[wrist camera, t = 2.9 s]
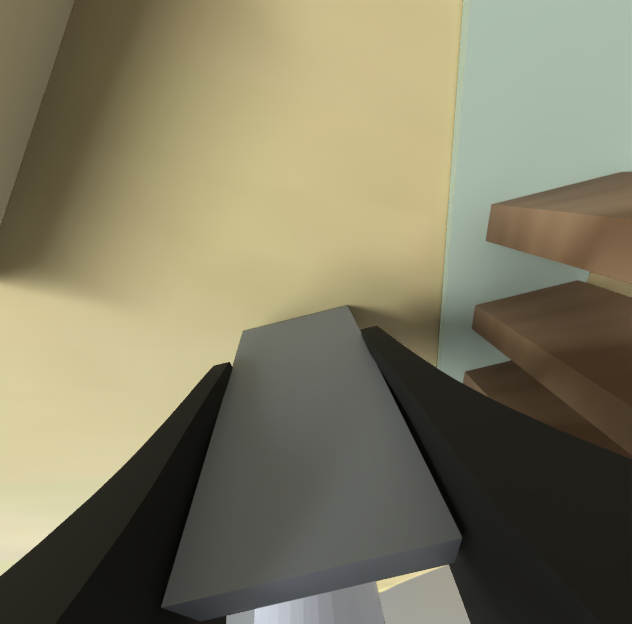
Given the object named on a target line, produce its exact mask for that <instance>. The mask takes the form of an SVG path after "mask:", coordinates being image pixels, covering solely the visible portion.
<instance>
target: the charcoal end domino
mask: <svg viewBox="0 0 632 624" xmlns="http://www.w3.org/2000/svg"><path fill="white" fill-rule="evenodd" d="M232 367H233V369H232V372H231V376H230V379H229V382H228V386H227V389H226V392H225V394H224V397H223V400H222V403H221V407H220V410H219V413H218V417H217V420H216V424H215V427H214V430H213V434H212V437H211V440H210V444H209V447H208V450H207V454H206V457H205V461H204V464H203V467H202V471H201V474H200V477H199V481H198V484H197V488H196V491H195V494H194V498H193V501H192V504H191V508H190V511H189V514H188V518H187V521H186V525H185V528H184V531H183V535H182V538H181V541H180V545H179V548H178V552H177V555H176V558H175V562H174V565H173V568H172V572H171V575H170V578H169V582H168V585H167V589H166V592H165V595H164V599H163V602H162V605H161V608H163V609H166V610H169V611H172V612H175V613H178V614H181V615H184V616H186V617H189V618H192V619H195V620H198V621H205V620H210V619H214V618H218V617H223V616H227V615H231V614H236V613H240V612H244V611H249V610H253V609H257V608H262V607H266V606H270V605H275V604H279V603H283V602H288V601H292V600H296V599H301V598H305V597H309V596H314V595H318V594H322V593H327V592H331V591H335V590H340V589H344V588H348V587H353V586H357V585H361V584H366V583H370V582H374V581H379V580H383V579H387V578H392V577H396V576H400V575H405V574H409V573H413V572H418V571H422V570H426V569H430V568H435V567H439V566H443V565H448V564H452V563H455V560H456V557H457V553H458V550H459V547H460V544H461V541H462V536H461V534H460V532H459V530H458V528H457V526H456V524H455V522H454V520H453V518H452V515H451V513H450V511H449V509H448V507H447V505H446V503H445V501H444V499H443V497H442V495H441V493H440V491H439V489H438V487H437V485H436V483H435V481H434V479H433V477H432V475H431V473H430V471H429V469H428V467H427V465H426V463H425V461H424V459H423V457H422V455H421V453H420V451H419V449H418V447H417V445H416V443H415V441H414V439H413V437H412V435H411V433H410V431H409V428H408V426H407V424H406V422H405V420H404V418H403V416H402V414H401V412H400V410H399V408H398V406H397V404H396V402H395V400H394V398H393V396H392V394H391V392H390V390H389V388H388V386H387V384H386V382H385V380H384V378H383V376H382V374H381V372H380V370H379V368H378V366H377V364H376V362H375V361H374V359H373V357H372V356H371V354H370V352H369V350H368V348H367V346H366V344H365V342H364V340H363V338H362V335H361V331H360V329H359V327H358V325H357V323H356V321H355V319H354V317H353V315H352V313H351V311H350V309H349V307H348V305H346V306H342V307H338V308H334V309H330V310H326V311H322V312H318V313H314V314H310V315H306V316H302V317H298V318H294V319H290V320H286V321H281V322H277V323H273V324H269V325H265V326H261V327H257V328H253V329H249V330H245V331H243V333H242V336H241V339H240V343H239V346H238V349H237V353H236V356H235V360H234V363H233V366H232Z"/></svg>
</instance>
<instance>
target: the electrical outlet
mask: <svg viewBox="0 0 632 624" xmlns="http://www.w3.org/2000/svg"><path fill="white" fill-rule="evenodd" d="M74 2H75V0H0V226H1V223H2V220H3V217H4V214H5V211H6V208H7V205H8V202H9V199H10V196H11V192H12V189H13V186H14V183H15V180H16V177H17V174H18V171H19V168H20V165H21V162H22V159H23V156H24V153H25V150H26V147H27V144H28V141H29V138H30V135H31V132H32V129H33V126H34V123H35V120H36V117H37V114H38V111H39V108H40V105H41V102H42V99H43V96H44V93H45V90H46V87H47V84H48V81H49V78H50V75H51V71H52V68H53V65H54V62H55V59H56V56H57V53H58V50H59V47H60V44H61V41H62V38H63V35H64V32H65V29H66V26H67V23H68V20H69V17H70V14H71V11H72V8H73V5H74Z"/></svg>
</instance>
